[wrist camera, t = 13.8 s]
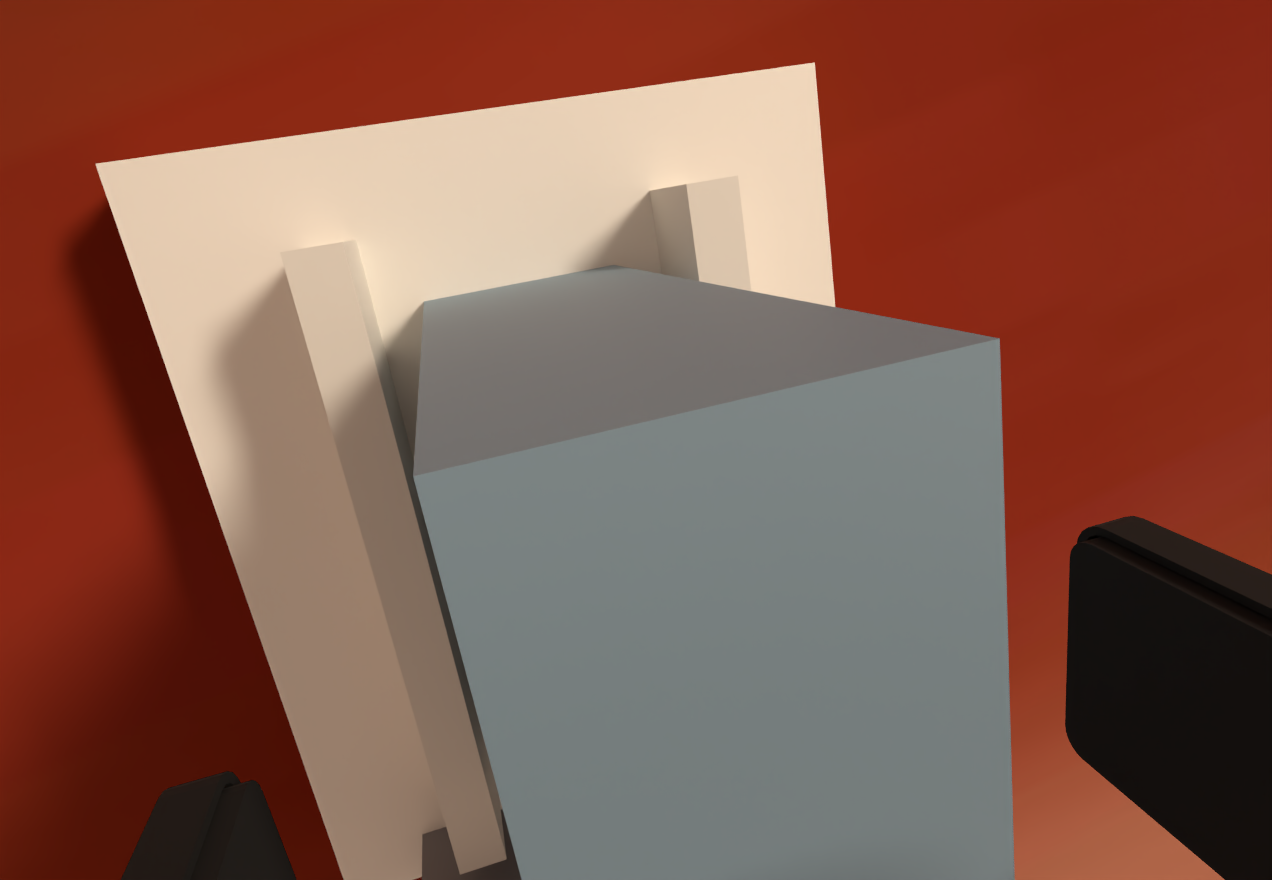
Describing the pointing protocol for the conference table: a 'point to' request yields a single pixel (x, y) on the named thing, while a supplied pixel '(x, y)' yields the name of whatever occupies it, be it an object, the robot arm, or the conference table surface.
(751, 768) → the gray rectangular block
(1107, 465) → the conference table surface
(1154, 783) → the robot arm
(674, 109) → the cream railed panel
